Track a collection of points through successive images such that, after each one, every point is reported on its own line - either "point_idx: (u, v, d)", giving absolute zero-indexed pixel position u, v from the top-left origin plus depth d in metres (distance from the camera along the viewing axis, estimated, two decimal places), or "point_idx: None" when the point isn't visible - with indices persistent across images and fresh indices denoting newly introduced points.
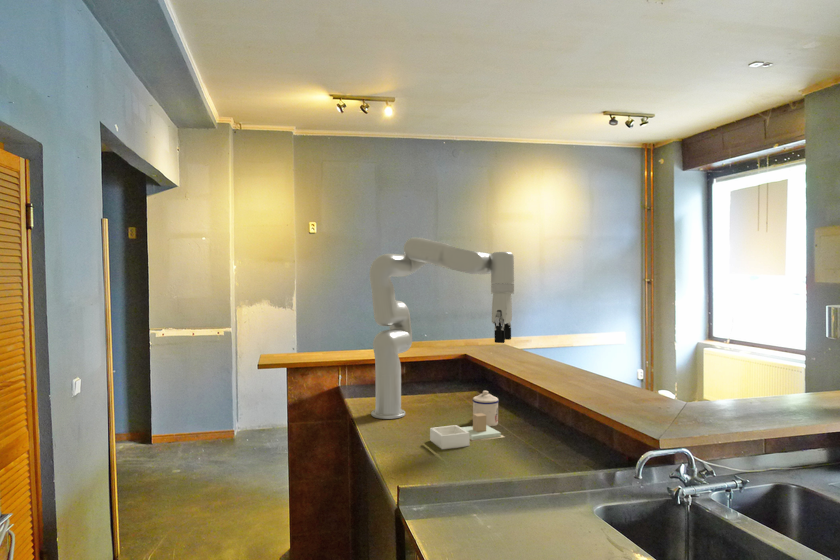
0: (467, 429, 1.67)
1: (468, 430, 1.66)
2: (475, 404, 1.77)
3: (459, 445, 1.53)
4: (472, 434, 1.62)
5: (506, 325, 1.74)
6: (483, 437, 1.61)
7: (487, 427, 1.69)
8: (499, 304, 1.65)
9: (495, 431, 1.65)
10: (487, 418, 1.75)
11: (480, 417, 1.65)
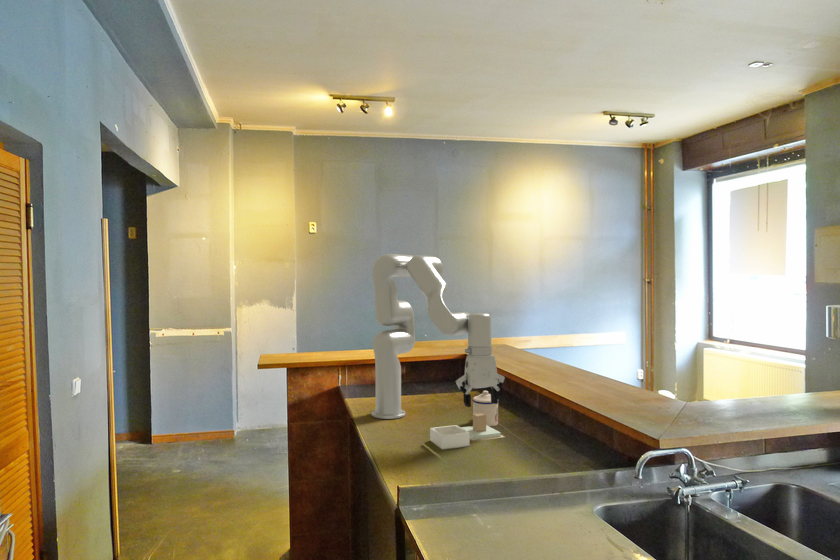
0: (467, 429, 1.67)
1: (468, 430, 1.66)
2: (475, 404, 1.77)
3: (459, 445, 1.53)
4: (472, 434, 1.62)
5: None
6: (483, 437, 1.61)
7: (487, 427, 1.69)
8: None
9: (495, 431, 1.65)
10: (487, 418, 1.75)
11: (480, 417, 1.65)
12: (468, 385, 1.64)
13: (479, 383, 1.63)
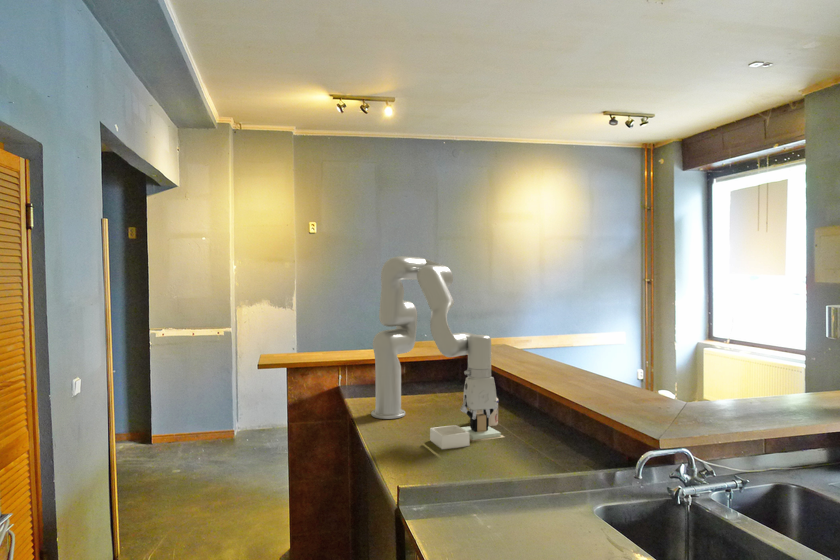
0: (467, 429, 1.67)
1: (468, 430, 1.66)
2: None
3: (459, 445, 1.53)
4: (472, 434, 1.62)
5: None
6: (483, 437, 1.61)
7: None
8: None
9: (495, 431, 1.65)
10: None
11: (480, 417, 1.65)
12: (471, 410, 1.65)
13: (478, 406, 1.63)
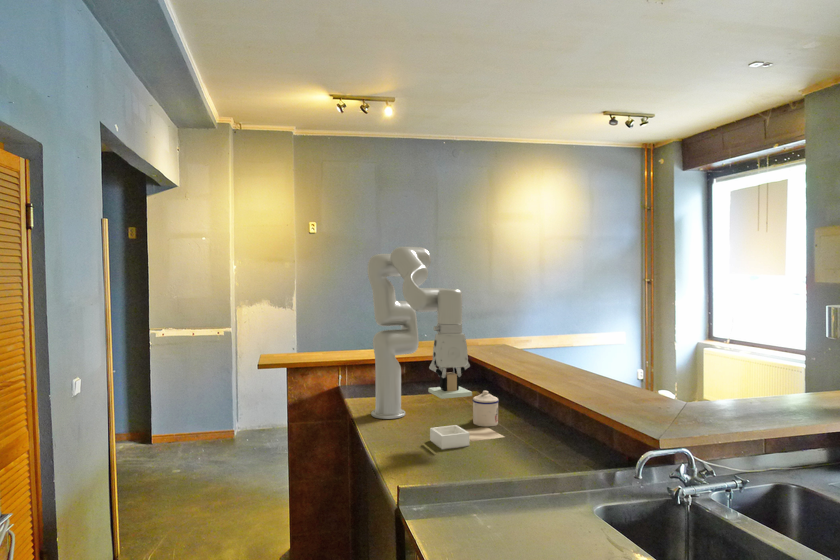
0: (437, 389, 1.58)
1: (438, 390, 1.56)
2: (475, 404, 1.77)
3: (459, 445, 1.53)
4: (441, 393, 1.52)
5: None
6: (453, 396, 1.52)
7: None
8: None
9: (466, 390, 1.55)
10: (487, 418, 1.75)
11: (450, 376, 1.55)
12: (441, 368, 1.55)
13: (448, 363, 1.54)
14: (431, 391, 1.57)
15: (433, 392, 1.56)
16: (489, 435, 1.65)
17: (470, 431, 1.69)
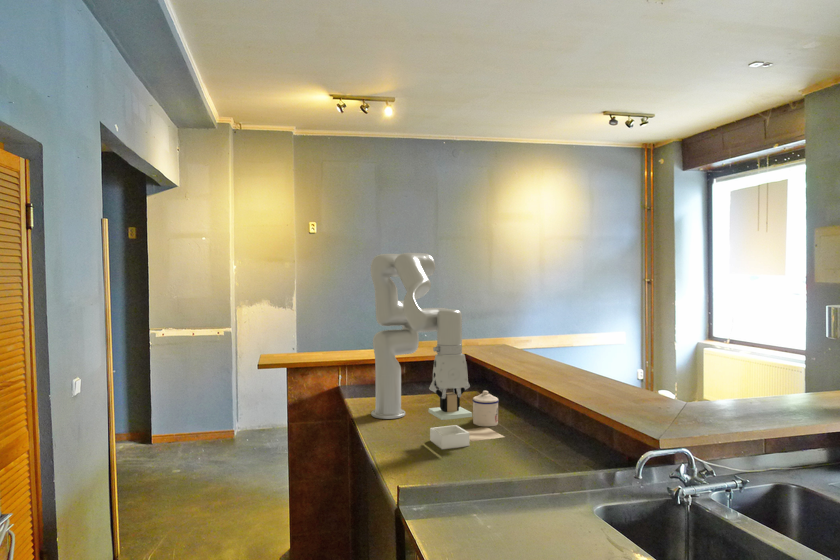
0: (437, 410, 1.57)
1: (438, 410, 1.56)
2: (475, 404, 1.77)
3: (459, 445, 1.53)
4: (441, 414, 1.52)
5: None
6: (453, 417, 1.51)
7: (459, 408, 1.60)
8: None
9: (466, 411, 1.55)
10: (487, 418, 1.75)
11: (450, 396, 1.55)
12: (441, 389, 1.55)
13: (448, 384, 1.53)
14: (431, 412, 1.57)
15: (433, 413, 1.56)
16: (489, 435, 1.65)
17: (470, 431, 1.69)
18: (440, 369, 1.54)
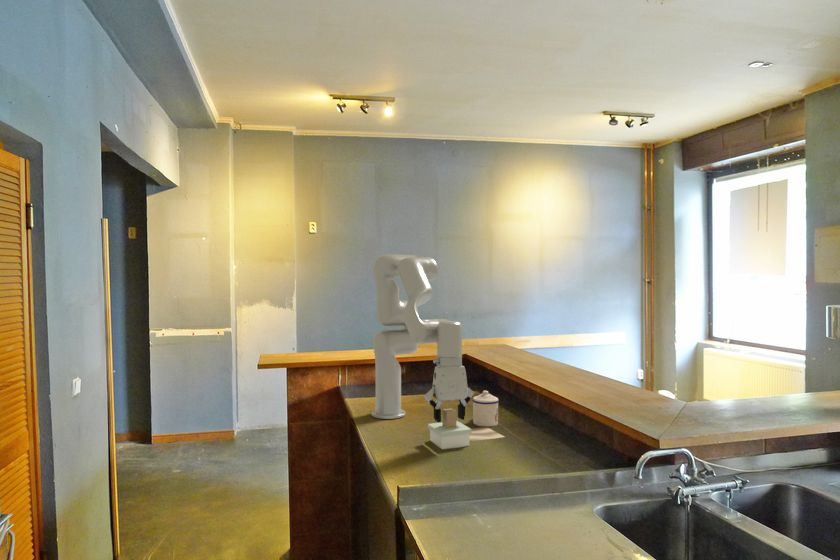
0: (436, 425, 1.58)
1: (437, 426, 1.56)
2: (475, 404, 1.77)
3: (459, 445, 1.53)
4: (440, 431, 1.52)
5: None
6: (452, 434, 1.52)
7: (458, 423, 1.60)
8: None
9: (466, 427, 1.55)
10: (487, 418, 1.75)
11: (450, 413, 1.55)
12: (437, 399, 1.55)
13: (447, 396, 1.54)
14: (430, 427, 1.57)
15: (432, 429, 1.56)
16: (489, 435, 1.65)
17: None
18: None
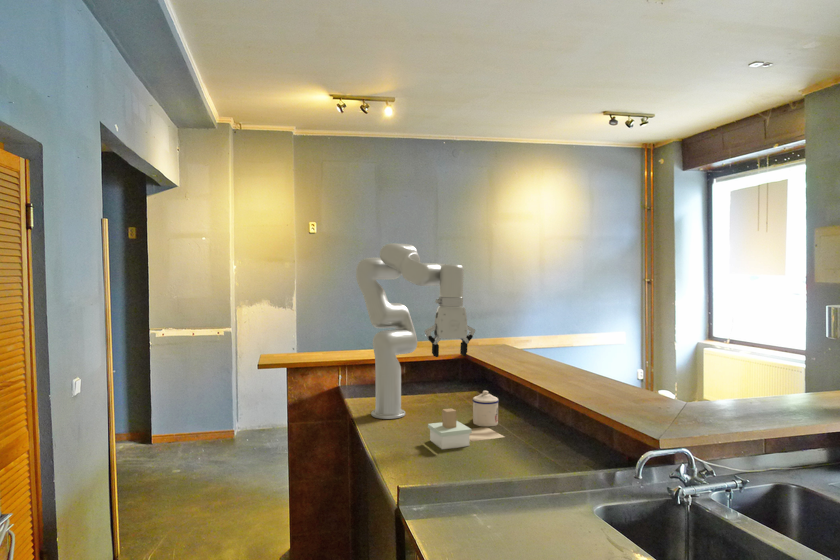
0: (436, 425, 1.58)
1: (437, 426, 1.56)
2: (475, 404, 1.77)
3: (459, 445, 1.53)
4: (440, 431, 1.52)
5: None
6: (452, 434, 1.52)
7: (458, 423, 1.60)
8: None
9: (466, 427, 1.55)
10: (487, 418, 1.75)
11: (450, 413, 1.55)
12: (437, 335, 1.64)
13: (448, 334, 1.62)
14: (430, 427, 1.57)
15: (432, 429, 1.56)
16: (489, 435, 1.65)
17: None
18: None
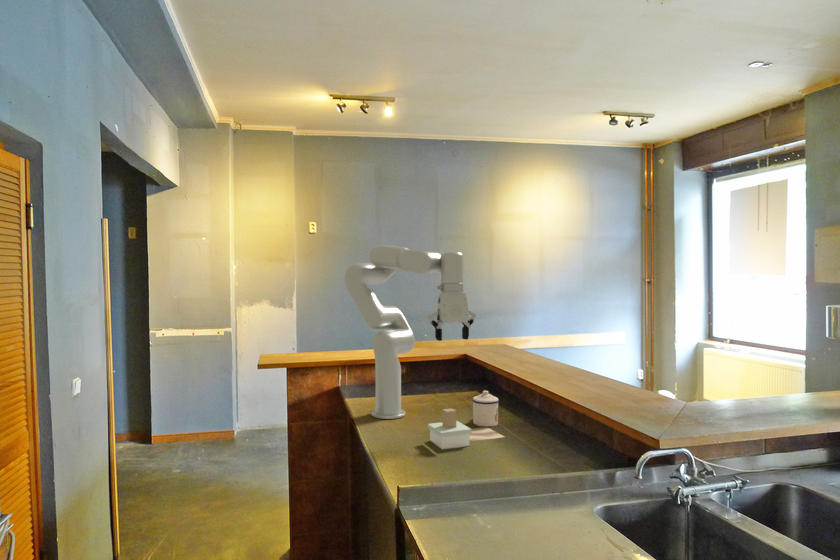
0: (436, 425, 1.58)
1: (437, 426, 1.56)
2: (475, 404, 1.77)
3: (459, 445, 1.53)
4: (440, 431, 1.52)
5: None
6: (452, 434, 1.52)
7: (458, 423, 1.60)
8: None
9: (466, 427, 1.55)
10: (487, 418, 1.75)
11: (450, 413, 1.55)
12: (440, 320, 1.71)
13: (450, 318, 1.69)
14: (430, 427, 1.57)
15: (432, 429, 1.56)
16: (489, 435, 1.65)
17: None
18: None
